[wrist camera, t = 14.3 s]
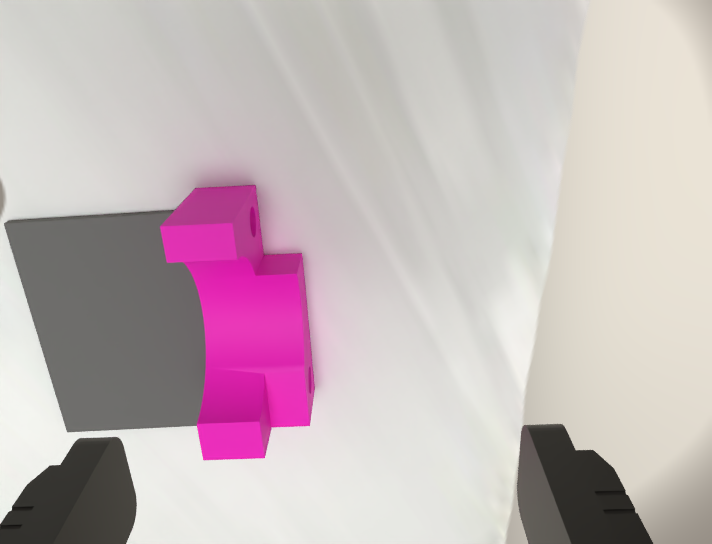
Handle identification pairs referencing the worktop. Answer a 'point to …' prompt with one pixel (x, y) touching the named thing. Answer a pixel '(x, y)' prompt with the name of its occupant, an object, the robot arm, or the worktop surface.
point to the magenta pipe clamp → (243, 322)
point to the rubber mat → (113, 319)
